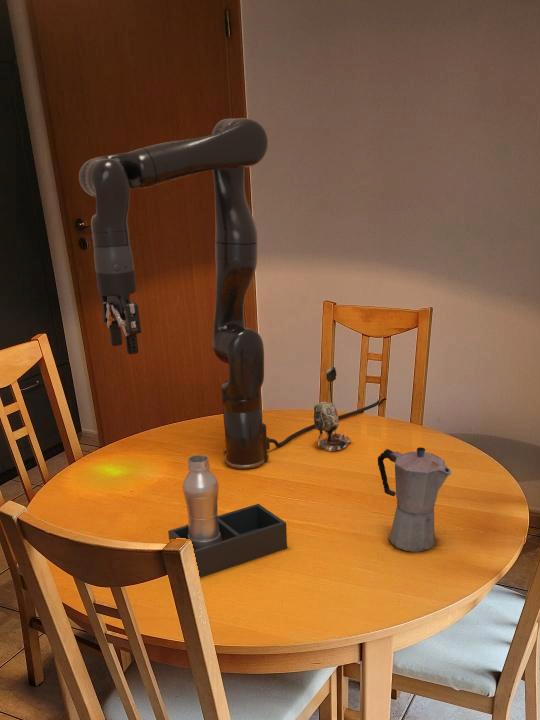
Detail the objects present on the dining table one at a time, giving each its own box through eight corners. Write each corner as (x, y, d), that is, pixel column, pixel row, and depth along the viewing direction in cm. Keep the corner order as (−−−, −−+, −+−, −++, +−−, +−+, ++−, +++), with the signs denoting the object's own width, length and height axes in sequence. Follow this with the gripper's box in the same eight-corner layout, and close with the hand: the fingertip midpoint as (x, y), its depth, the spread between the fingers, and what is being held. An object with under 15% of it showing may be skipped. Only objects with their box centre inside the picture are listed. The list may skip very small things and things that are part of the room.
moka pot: (437, 561, 148) (443, 463, 139) (363, 542, 155) (364, 447, 146) (456, 540, 155) (463, 445, 146) (384, 523, 162) (387, 431, 153)
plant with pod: (304, 447, 201) (302, 370, 192) (337, 436, 207) (337, 361, 198) (324, 456, 195) (324, 377, 186) (358, 445, 201) (359, 368, 192)
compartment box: (170, 556, 152) (168, 530, 150) (259, 528, 162) (258, 503, 159) (195, 579, 144) (192, 552, 142) (287, 548, 154) (286, 522, 151)
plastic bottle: (188, 548, 153) (179, 452, 144) (223, 546, 154) (216, 450, 145) (187, 565, 147) (177, 466, 138) (223, 563, 148) (216, 464, 139)
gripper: (147, 271, 153) (155, 353, 160) (119, 262, 163) (128, 339, 171) (110, 275, 149) (120, 360, 156) (84, 266, 160) (95, 345, 167)
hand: (124, 349), depth 163 cm, fingers open, 8 cm apart
